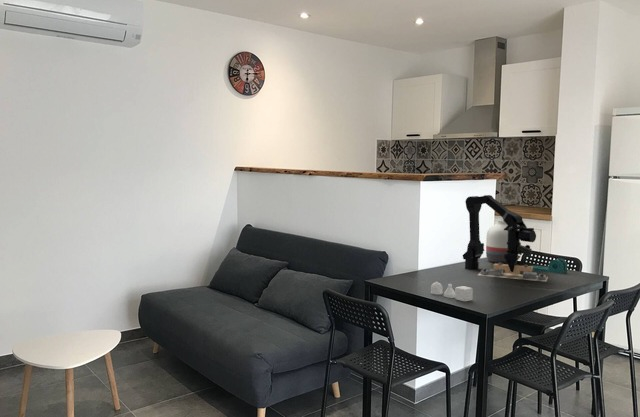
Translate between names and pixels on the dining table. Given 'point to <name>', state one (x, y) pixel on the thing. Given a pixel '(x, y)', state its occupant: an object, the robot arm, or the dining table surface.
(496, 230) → the vase
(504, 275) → the board
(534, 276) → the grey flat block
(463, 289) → the container set
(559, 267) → the teal handled piece
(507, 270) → the master link
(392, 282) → the dining table surface
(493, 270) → the lower chain end
